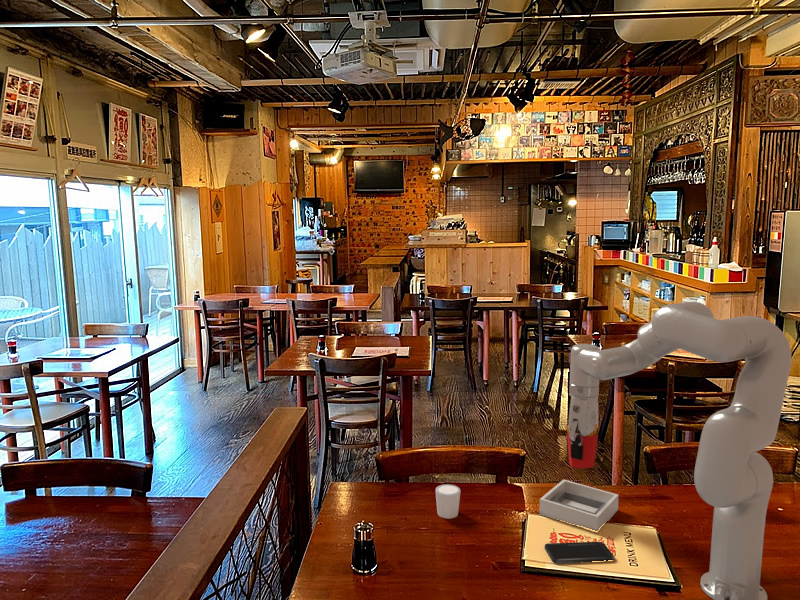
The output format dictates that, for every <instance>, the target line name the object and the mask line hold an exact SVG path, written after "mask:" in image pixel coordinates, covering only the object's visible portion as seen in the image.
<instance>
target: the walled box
mask: <svg viewBox="0 0 800 600" xmlns="http://www.w3.org/2000/svg"><path fill="white" fill-rule="evenodd" d="M619 497H620V496H619V494H617V493H614V492H610V491H606V490H602V489H598V488H596V487H592V486H588V485H585V484H583V483H579V482H578V483H577V482H574V481H571V480H568V479H564V478H563V479H562V480H561V481H560V482H558V483H557V484H556V485H555V486H553V487H552V488H551V489H550V490H549V491H548V492H546V493H545V494H544V495H543V496H541V498H539V510H538V511H539V512H538V515H539V516H542V517H545V516H546V518H548V517H550V518H549V519H551V518H554V519H558V520H562V521H565V522H568V523H571V524H575V525H579V526H583V527H586V528H589V529H592V530H595V531H598V530H599V528H600V527H601V526H602V525H603V524H604V523H606V522H607V521H608V522H609V521H610V520H611V518H612V517H613V516H614V515H615V514H616V513H617V511H618V510H619ZM554 519H553V520H554ZM606 524H607V523H606Z"/></svg>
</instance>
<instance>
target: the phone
mask: <svg viewBox="0 0 800 600" xmlns="http://www.w3.org/2000/svg"><path fill="white" fill-rule="evenodd" d="M544 550H545V552H546V554H547V555H548V557H549V559H550V560H551V562H552V563H553V564H554V565H555V564H556V565H566V564H567V565H568V564H569V565H570V564H572V565H573V564H582V563H581V562H592V561H604V560H606V561H608V560H614V561H615V556H614V554H613V553H612V552H611V550H610V549H609V547H608V546H607V545H606V544H605V542H603V541H583V542H582V541H578V542H552V543H551V542H548V543H545V544H544Z"/></svg>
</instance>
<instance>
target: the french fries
mask: <svg viewBox="0 0 800 600" xmlns="http://www.w3.org/2000/svg"><path fill="white" fill-rule="evenodd" d="M597 425H598V426H599V423H598V424H595V430H594V425H593V430H594V431H593V432H592V433H590V434H589V435H587V436H583V442H582V445H583V459H582V460H579V459H575V458H571V439H570V437H569V434H570V432H569V424H567V425H566V426H565V427H566V431H567V434H566V438H567V451H568V461H569V463H568V464H569V466H570V467H571V468H575V469H589V468H590V469H591V468H593V467H594V466H595V464H596V463H595V462H596V461H595V460H596V454H597V449H598V442H599V441H598V439H599V434H598V432H597V430H598V427H597ZM577 433H580V431H577ZM580 434H581V433H580ZM576 437H578V439H580V436H578V435H576Z"/></svg>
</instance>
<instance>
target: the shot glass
mask: <svg viewBox="0 0 800 600" xmlns="http://www.w3.org/2000/svg"><path fill="white" fill-rule="evenodd" d="M460 497H461V489H460V487H458V486H457V485H455V484H449V483H448V484H447V483H446V484H441V485H438V486H437V487H435V499H436V511H437V512H436V513H437V515H438V516H439V517H440V518H443V519H449V520H450V519H453V518H457V517H458V515H459V508H460V507H459V506H460V500H461V498H460Z"/></svg>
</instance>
